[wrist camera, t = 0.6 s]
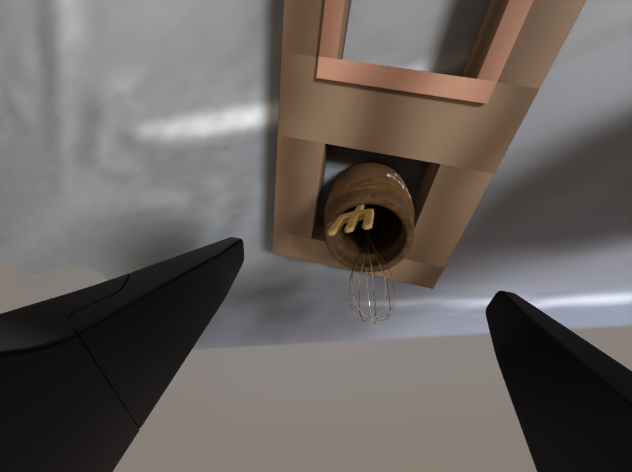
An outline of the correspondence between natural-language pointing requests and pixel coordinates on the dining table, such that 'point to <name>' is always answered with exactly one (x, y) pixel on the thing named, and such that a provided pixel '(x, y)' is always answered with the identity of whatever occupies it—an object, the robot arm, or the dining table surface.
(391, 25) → the dining table surface
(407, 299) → the dining table surface
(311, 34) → the double window frame
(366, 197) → the utensil holder
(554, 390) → the robot arm
